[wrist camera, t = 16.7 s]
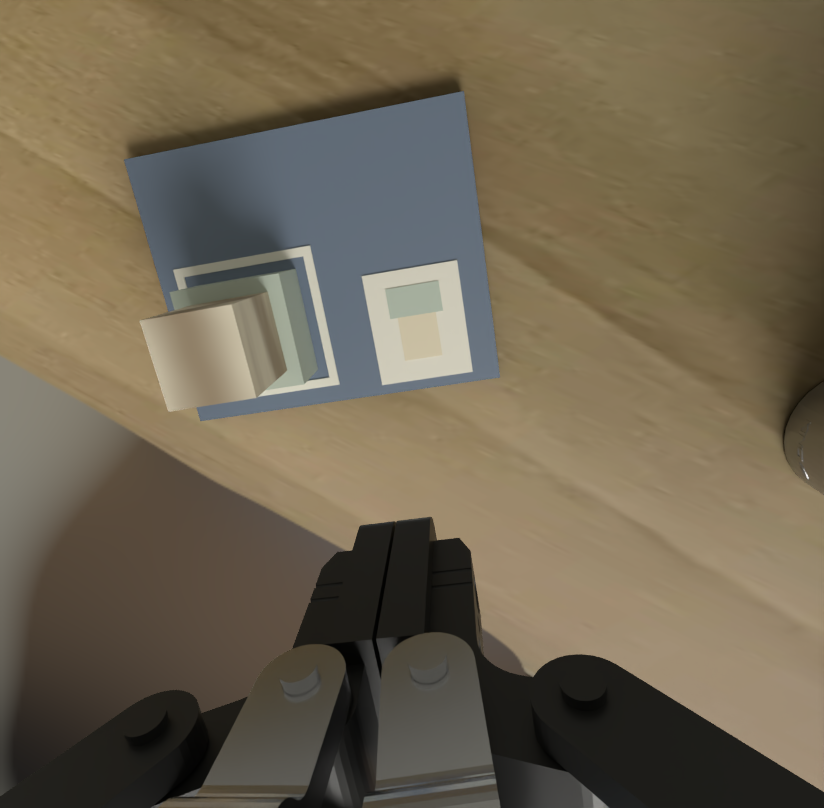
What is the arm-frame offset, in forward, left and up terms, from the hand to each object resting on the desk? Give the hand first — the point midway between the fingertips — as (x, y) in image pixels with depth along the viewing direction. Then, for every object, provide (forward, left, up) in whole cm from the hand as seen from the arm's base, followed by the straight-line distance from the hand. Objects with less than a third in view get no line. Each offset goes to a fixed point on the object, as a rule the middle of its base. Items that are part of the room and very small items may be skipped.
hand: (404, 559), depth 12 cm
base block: (+12, -2, -28) cm, 30 cm away
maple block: (+12, -2, -24) cm, 27 cm away
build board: (+7, -5, -29) cm, 30 cm away
